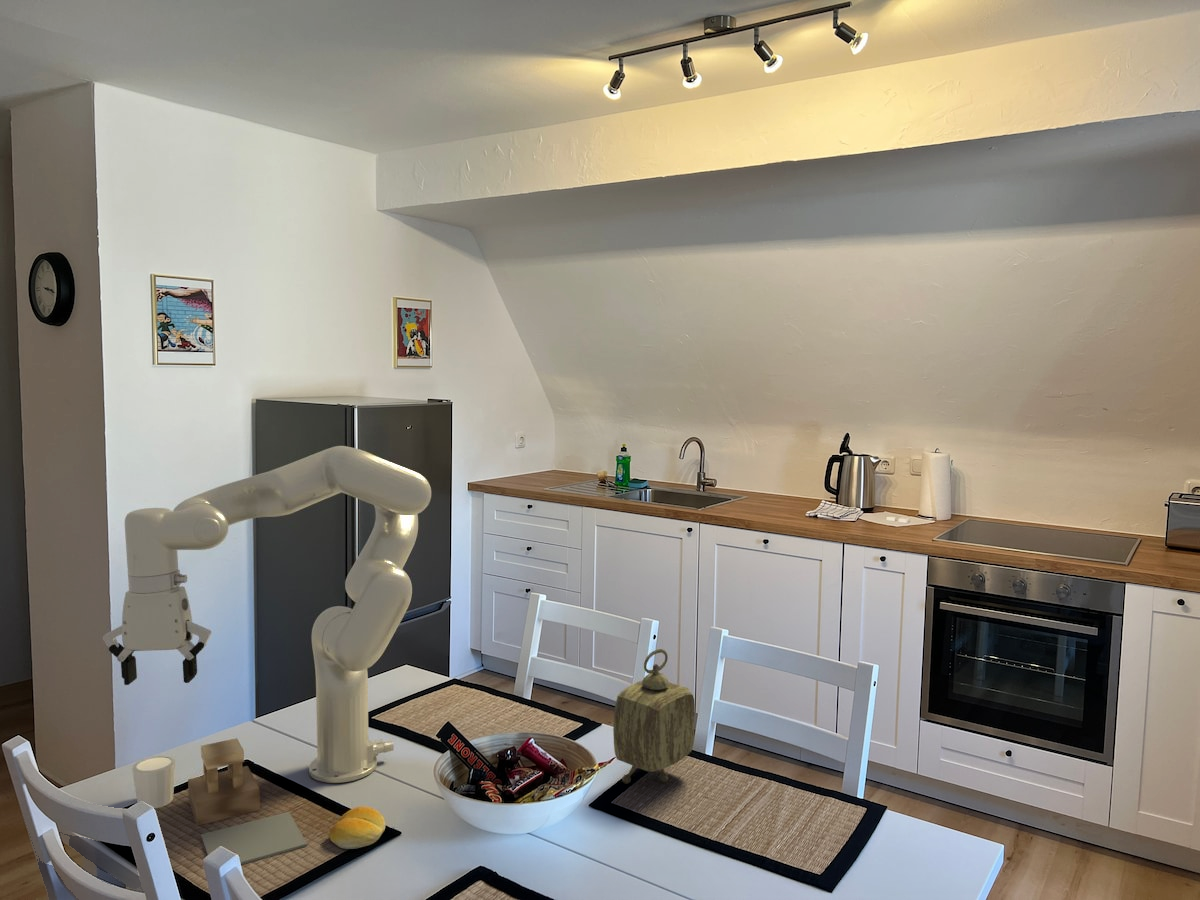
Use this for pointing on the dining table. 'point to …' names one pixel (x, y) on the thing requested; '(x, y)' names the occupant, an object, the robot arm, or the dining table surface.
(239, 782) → the stool
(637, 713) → the tabletop clock
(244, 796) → the step
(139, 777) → the cream cup
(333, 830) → the bread roll
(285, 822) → the mat
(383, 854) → the dining table surface
